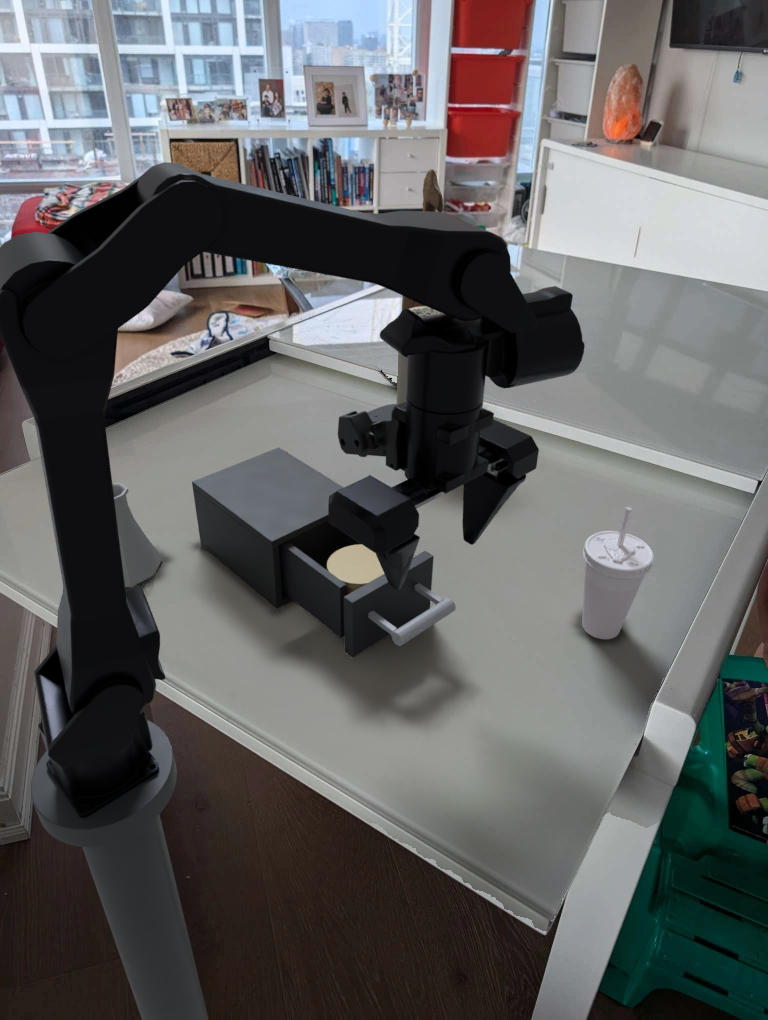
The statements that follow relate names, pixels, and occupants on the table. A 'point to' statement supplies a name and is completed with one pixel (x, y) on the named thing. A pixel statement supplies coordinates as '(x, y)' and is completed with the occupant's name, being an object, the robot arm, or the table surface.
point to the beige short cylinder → (354, 566)
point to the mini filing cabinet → (260, 515)
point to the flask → (133, 542)
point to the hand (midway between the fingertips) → (433, 563)
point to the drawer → (358, 593)
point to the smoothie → (612, 578)
